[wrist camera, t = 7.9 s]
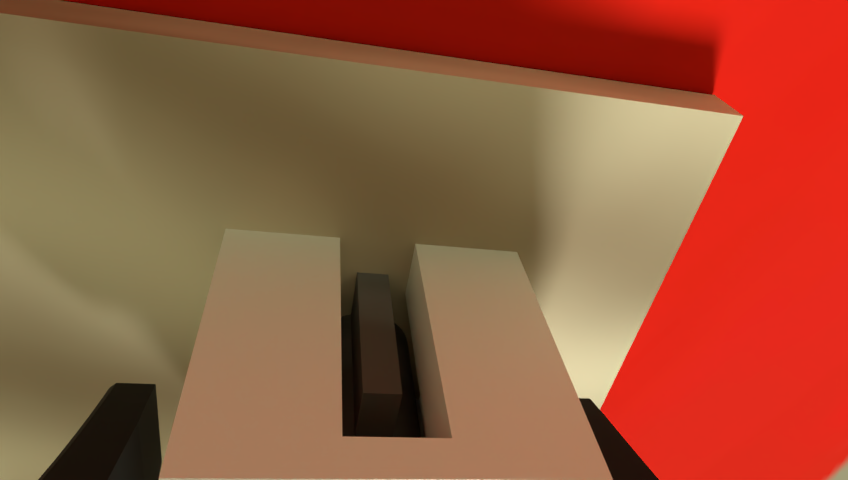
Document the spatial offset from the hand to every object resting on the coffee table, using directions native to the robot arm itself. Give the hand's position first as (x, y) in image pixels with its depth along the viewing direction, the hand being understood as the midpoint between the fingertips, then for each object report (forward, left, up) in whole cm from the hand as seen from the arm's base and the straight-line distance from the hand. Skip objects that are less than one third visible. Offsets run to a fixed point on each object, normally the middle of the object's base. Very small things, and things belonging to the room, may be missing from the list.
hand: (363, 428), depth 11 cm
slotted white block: (0, 0, -2) cm, 2 cm away
